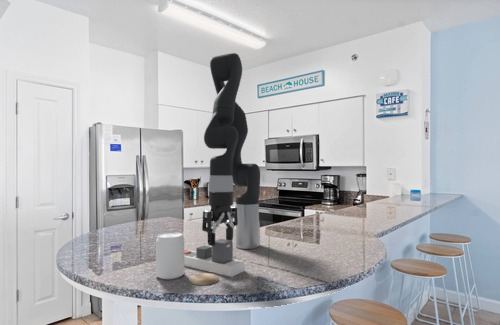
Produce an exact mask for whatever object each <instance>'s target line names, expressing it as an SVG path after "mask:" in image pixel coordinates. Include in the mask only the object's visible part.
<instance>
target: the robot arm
mask: <svg viewBox="0 0 500 325" xmlns="http://www.w3.org/2000/svg"><path fill="white" fill-rule="evenodd" d="M209 67H210V68H209V69H210V74H211V76H212V77H211V78H212V81H213V84H214V85H213V86H214V88H215V92H216V97H215V99H214V102H213V108H212V116H211V119H210V121H209V123H208V125H207V126H206V129H205V131H204V135H203V142H204V144H205V146H206V147H207V148H209V149H215V150H216V149H217V150H218V149H223V150H225V152H224V153H223V154H221V155H215V156H212V157H210V160H209V180H208V181H209V182H208V205H209V206H210V208H211V209H210V210H203V212H202V225H201V227H202V228H201V230H202V231H203V232H206V233H207V244H208V246H210V247H212V246H214V245H215V241H216V230H217V228H218V227H219V226H220V224H224V225H225V227H226V228H225V239H226V240H232V241H233V239H234V229H235V248H238V249H241V250H242V249H243V250H251V249H257V248H259V247H260V245H261V240H260V238H261V223H260V215H259V214H260V212H259V211H260V210H259V209H260V204H259V200H260V194H261V193H260V191H261V188H260V187H261V170H260V166H259V164H257V163H243V161H242V149H243V146H244V143H245V141H246V139H247V136H248V133H249V132H248V131H249V128H248V126H249V125H248V123H247V122H248V121H247V116H246V113H245V112H244V110H243V109H242V107H241V106H240V105H239V104H238V103H237V101H236V99H237V96H238V92H239V87H240V84H241V80H242V77H243V64H242V60H241V57H240V56H239V54H237V53H236V52H233V53H226V54H220V55H216V56H212V57H211V58H210V59H209ZM225 82H226V83H225ZM234 185H235V186H237V187H246V188H247V189H246V191H245V192H244V193H242V194H239V195H237V196H236V197H235V206H233V205H234Z"/></svg>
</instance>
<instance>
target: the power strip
mask: <svg viewBox="0 0 500 325" xmlns="http://www.w3.org/2000/svg"><path fill="white" fill-rule="evenodd" d="M184 267H188V268H191V269H192V268H193V269H196V270H201V271H204V272H208V273H209V272H210V273H212V274H216V275H217V274H219V275H222V276H226V277H231V278H232V277H235V276H237V275H238V274H241V273H243V272H244V271H245V260H241V259H236V258H233V261H231V262H229V263H226V264H220V263H215V262H212V246H210V245H208V246H207V245H201V246H199V247H196V251H195V250H186V249H184Z"/></svg>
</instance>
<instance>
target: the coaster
mask: <svg viewBox="0 0 500 325" xmlns="http://www.w3.org/2000/svg"><path fill="white" fill-rule="evenodd" d="M218 281H219V276H218V275H217V274H216V273H212V272H210V273H209V272H208V273H207V272H204V273H203V272H202V273H197V274H194V275H192V276H190V278H189V283H190V284H192V285H196V286H209V285H213V284H215V283H217V282H218Z"/></svg>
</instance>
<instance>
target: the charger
mask: <svg viewBox="0 0 500 325" xmlns="http://www.w3.org/2000/svg"><path fill="white" fill-rule="evenodd" d="M233 245H234V244H233V240H226V238H220V239H219V238H218V239H215V245H214V246H211V247H212V262H215V263H220V264H226V263H229V262H231V261H233V259H234V256H233V247H234V246H233Z"/></svg>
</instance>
